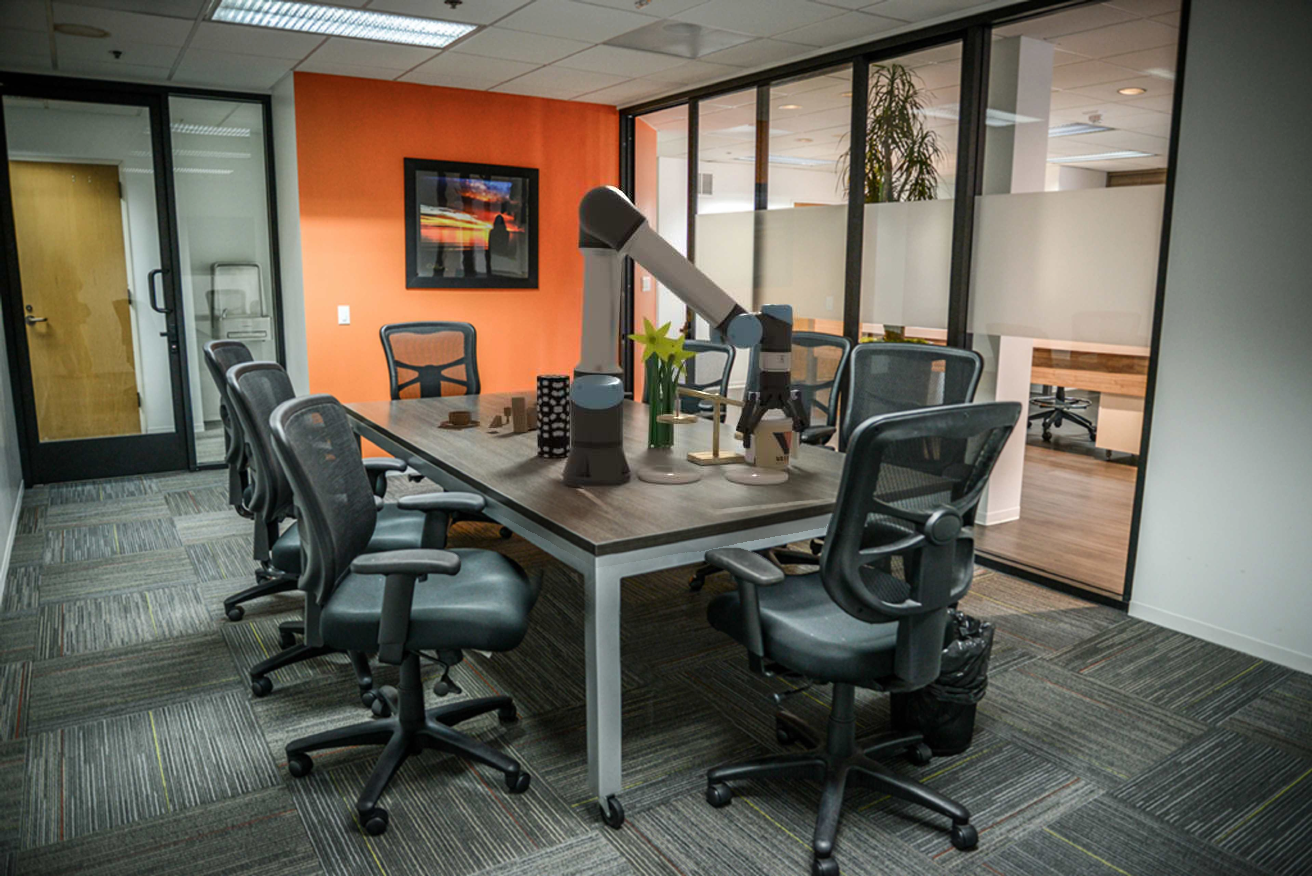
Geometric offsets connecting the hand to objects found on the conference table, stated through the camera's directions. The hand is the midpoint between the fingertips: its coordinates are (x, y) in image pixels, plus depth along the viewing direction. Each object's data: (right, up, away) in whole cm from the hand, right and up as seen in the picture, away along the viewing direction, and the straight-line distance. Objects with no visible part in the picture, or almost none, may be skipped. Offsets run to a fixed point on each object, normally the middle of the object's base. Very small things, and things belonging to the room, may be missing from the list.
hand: (772, 460), depth 215 cm
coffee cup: (0, -2, 0) cm, 2 cm away
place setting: (-84, +8, +58) cm, 102 cm away
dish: (-5, -4, -13) cm, 14 cm away
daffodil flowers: (-26, +2, +24) cm, 36 cm away
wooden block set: (-67, +7, +50) cm, 84 cm away
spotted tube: (-54, +1, +13) cm, 56 cm away
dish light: (-25, -4, -13) cm, 28 cm away
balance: (-13, 0, +7) cm, 15 cm away
